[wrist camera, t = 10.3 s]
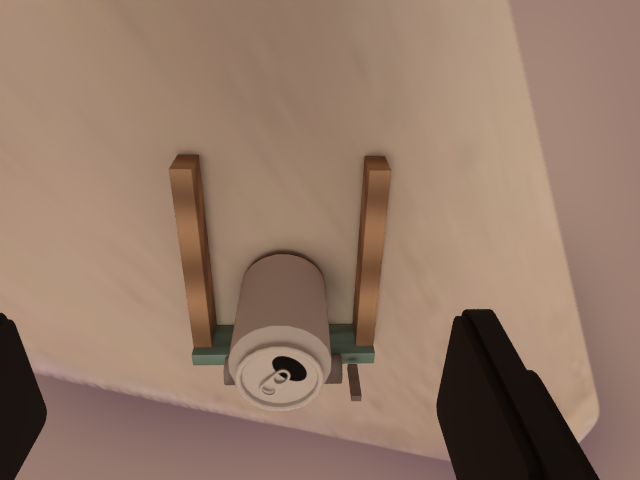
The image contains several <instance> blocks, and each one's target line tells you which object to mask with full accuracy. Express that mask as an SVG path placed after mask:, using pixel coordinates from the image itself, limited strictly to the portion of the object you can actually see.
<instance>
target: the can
mask: <svg viewBox="0 0 640 480" xmlns="http://www.w3.org/2000/svg"><path fill="white" fill-rule="evenodd" d="M228 363H229V372H230V374H231V376H232V378H233V380H234V382H235V386H236V388H237V390H238V391H239V393H240V395H241V396H242V397H243V398H244V399H245V400H247V401H248V402H249V403H251V404H253V405H255V406H257V407H259V408H261V409H266V410H271V411H288V410H292V409H297V408H300V407H302V406H304V405H306V404H308V403H310V402H311V401H312V400H313V399H314V398H315V397H316V396H317V395H319V393H320V391H321V389H322V387H323V384H324V383H325V382H326V380H327V378H328V376H329V374H330V372H331V349H330V337H329V325H328V313H327V301H326V289H325V283H324V280H323V277H322V274H321V273H320V272H319V270H318V269H317V268H316V267H315V266H314V265H313V264H312V263H310V262H309V261H307V260H305V259H304V258H301V257H297V256H294V255H290V254H276V255H272V256H269V257H265V258H262V259H261V260H259V261H258V262H256V263H254V264H253V265H252V266H251V267H250V268H249V270H248V271H247V272H246V273H245V276H244V279H243V282H242V285H241V290H240V296H239V302H238V307H237V313H236V319H235V324H234V330H233V336H232V341H231V347H230V353H229V358H228Z"/></svg>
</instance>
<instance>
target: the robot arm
mask: <svg viewBox="0 0 640 480" xmlns="http://www.w3.org/2000/svg"><path fill="white" fill-rule="evenodd" d="M46 415H47V410H46V406H45V403H44V400H43V397H42V395H41V392H40V390H39V387H38V384H37V382H36V379H35V376H34V373H33V371H32V368H31V365H30V363H29V360H28V357H27V355H26V352H25V349H24V346H23V344H22V341H21V338H20V336H19V333H18V330H17V328H16V325H15V323H14V322H13V321H12V320H9V319H7V317H6V316H5V315H4V314H3V313H0V480H14V479H15V477H16V476H17V474H18V472H19V470H20V468H21V466H22V465H23V463H24V461H25V459H26V457H27V455H28V454H29V452H30V450H31V448H32V446H33V444H34V443H35V441H36V439H37V437H38V435H39V434H40V432H41V430H42V428H43V426H44V424H45V421H46ZM437 416H438V420H439V423H440V427H441V430H442V433H443V436H444V440H445V443H446V446H447V449H448V453H449V456H450V459H451V462H452V466H453V469H454V472H455V475H456V479H457V480H600V479H599V478H598V476H597V474H596V473H595V471H594V469H593V467H592V466H591V464H590V463H589V461H588V459H587V457H586V455H585V454H584V452H583V450H582V449H581V447H580V445H579V443H578V442H577V440H576V438H575V437H574V435H573V433H572V432H571V430H570V428H569V426H568V425H567V423H566V421H565V420H564V418H563V416H562V414H561V413H560V411H559V409H558V408H557V406H556V404H555V403H554V401H553V399H552V397H551V396H550V394H549V392H548V391H547V389H546V387H545V385H544V384H543V382H542V380H541V379H540V377H539V376H538V375H537V373H535V372H534V371H532V370H527V369H526V368H525V366H524V364H523V362H522V361H521V359H520V357H519V355H518V353H517V352H516V350H515V348H514V346H513V345H512V343H511V341H510V339H509V338H508V336H507V334H506V332H505V330H504V329H503V327H502V325H501V323H500V322H499V320H498V318H497V316H496V314H495V313H494V312H493V310H491V309H466V310H464V311H463V312H462V315H461V316H456V317H455V318H454V321H453V325H452V330H451V335H450V340H449V345H448V349H447V354H446V359H445V364H444V369H443V374H442V379H441V383H440V388H439V393H438V398H437Z"/></svg>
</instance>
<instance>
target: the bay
mask: <svg viewBox="0 0 640 480" xmlns="http://www.w3.org/2000/svg"><path fill="white" fill-rule="evenodd" d="M169 174H170V181H171V188H172V195H173V203H174V210H175V217H176V224H177V231H178V238H179V245H180V252H181V259H182V267H183V274H184V281H185V288H186V295H187V302H188V309H189V316H190V323H191V331H192V338H193V345H194V349H193V352H192V360H193V365H224V384H225V385H235V382H234V380H233V378H232V376H231V374H230V372H229V363H228V358H229V353H230V347H231V341H232V336H233V330H234V325H217V323H216V314H215V305H214V295H213V286H212V276H211V267H210V258H209V248H208V239H207V229H206V220H205V211H204V201H203V192H202V182H201V173H200V164H199V155H177V157H176V158H175V160H174V162H173V163H172V165H171V166H170V168H169ZM390 178H391V169H390V167H389V165H388V162H387V160H386V158H385V157H374V156H365V160H364V174H363V188H362V201H361V215H360V229H359V243H358V256H357V270H356V284H355V298H354V311H353V324H339V325H329V337H330V349H331V372H330V374H329V376H328V378H327V380H326V382H325V383H324V384H339V383H342V364H345V363H374V356H375V352H374V347H373V343H374V333H375V324H376V314H377V304H378V295H379V285H380V275H381V265H382V256H383V246H384V236H385V227H386V217H387V207H388V197H389V188H390ZM347 370H348V378H349V386H350V394H351V401H361V396H362V395H361V389H360V382H359V375H358V368H357V364H348V368H347Z"/></svg>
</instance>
